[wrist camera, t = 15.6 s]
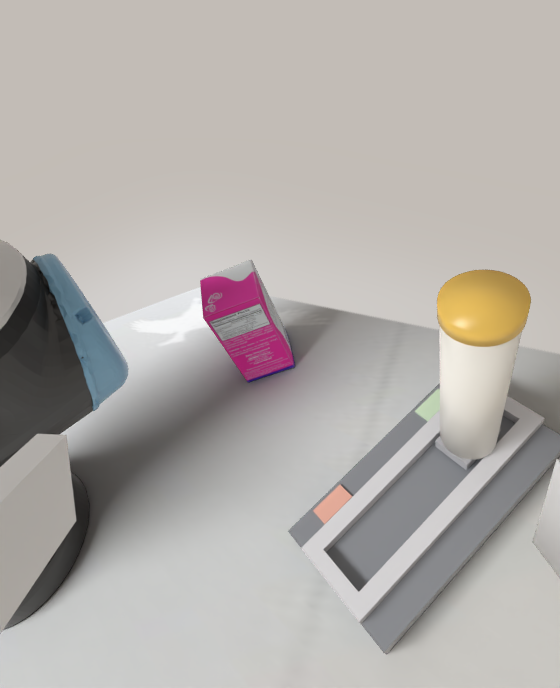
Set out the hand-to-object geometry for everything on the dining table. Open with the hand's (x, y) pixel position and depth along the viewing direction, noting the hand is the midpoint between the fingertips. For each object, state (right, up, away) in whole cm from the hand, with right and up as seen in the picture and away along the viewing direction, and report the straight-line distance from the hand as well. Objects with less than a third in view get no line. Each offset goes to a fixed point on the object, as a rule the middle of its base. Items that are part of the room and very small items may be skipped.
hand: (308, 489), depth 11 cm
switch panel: (+11, -8, +22) cm, 26 cm away
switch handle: (+14, -4, +21) cm, 26 cm away
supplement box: (-2, +2, +36) cm, 36 cm away
